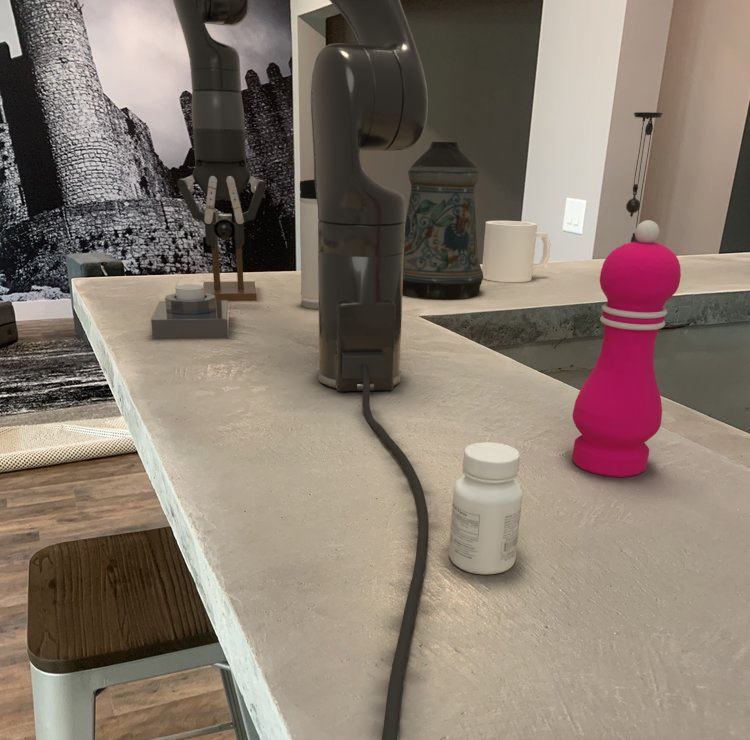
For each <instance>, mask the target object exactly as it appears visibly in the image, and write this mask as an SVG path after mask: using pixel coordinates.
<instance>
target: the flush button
mask: <svg viewBox="0 0 750 740" xmlns="http://www.w3.org/2000/svg"><path fill="white" fill-rule="evenodd" d="M174 289H175V293H176V299H182V300H196V299H203V298H205V287H204V286H203V284H194V283H193V284H191V283H190V284H189V283H188V284H180V285H176V286H175V287H174Z"/></svg>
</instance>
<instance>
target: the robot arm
mask: <svg viewBox="0 0 750 740" xmlns="http://www.w3.org/2000/svg"><path fill="white" fill-rule="evenodd" d="M172 2H173V5H174V9H175V12H176V16H177V19H178V22H179V24H180V27H181V32H182V34H183V39H184V41H185V45H186V50H187V55H188V58H189V59H188V60H189V67H190V80H191V91H192V92H191V124H192V136H193V149H194V150H193V151H194V159H195V160H194V162H195V163H194V164H195V166H194V169H193V171H192V174H191V175H189V176H187V177H184V178H179V179H178V180H177V182H176V186H177V188H178V190H179V192H180V194H181V197H183V200H184V202H185V205H186V206H187V208H188V211H189V213H190V215H191V217H192V218H193V219H194V220H198V221H200V222H202V223H203V224H204V232H205V233H204V234H205V243H206V245H207V246H210V250H212V249H216V244H215V231H214V223H213V213H214V210H215V204H216V201H217V202H218V201H221V200H225V201H230V202H231V205H232V210H233V215H234V214H235V219H236V223H235V225H234V226H235V234H234V240H235V241H236V243H235V250H236V249H240V246H243V247H244V245H245V242H246V241H245V224H246V223H247V222H249V221H253V220H255V218H256V216H257V213H258V211H259V207H260V205H261V202H262V199H263V196H264V194H265V190H266V188H267V183H266V181H265V180H263V179H259V178H256V177H255V176H252V175H251V174H250V171H249V169H248V166H247V153H246V129H245V125H246V121H245V110H244V102H243V98H242V97H243V96H242V82H241V81H242V80H241V78H242V77H241V62H240V60H241V59H240V55H239V52H238V50H237V49H236V48H235V47H233V46H231V45H229V44H225V43H223V42H220V41H217V40H216V39H214V37H212V36H211V34H210V32H209V30H208V29H207V24H208V25H218V26H226V27H227V26H228V27H234V26H238V25H239V24H241V23H242V22H243V21H244V20H245V18H246V17H247V15H248V13H249V11H250V6H251V5H250V4H251V0H172ZM329 2H330V3H331V4H332V5H333V7H335V8H336V10H337V11H338V12H339V13H340V15H341V16H342V17H343V18H344V19H345V20H346V22H347V24H348V25H349V26H350V28H351V30H352V32H353V33H354V36H355V37H356V40H357V42H358V44H354V43H353V44H352V43H330V44H327V45H325V46H324V47H323V48H322V49H320V50H319V52H318V54H317V56H316V57H315V61H314V64H313V67H312V72H311V78H310V79H311V80H310V97H309V98H310V118H311V119H310V120H311V134H312V147H313V148H312V150H313V151H312V153H313V175H314V176H313V177H314V178H313V180H315V190H316V197H317V204H318V285H319V309H318V372H317V374H318V377H317V378H318V381H319V382H320V383H321V384H323V385H324V386H327V387H330V388H334V389H335V390H336V391H337V392H362V400H361V401H362V411H363V416H364V418H365V420H366V422H367V423H368V426H370V427H371V428H372V429H373V430H374V431H375V432H376V433H377V434H378V436H379V437H380V439H381V440H382V441H383V442H384V444H385V445H386V446H387V448H388V449H389V450H390V451H391V452H392V453H393V454H394V456H395V457H396V458H397V460H398V462H399V463H400V464H401V466H402V468H403V469H404V472H405V473H406V475H407V477H408V479H409V482H410V484H411V486H412V490H413V494H414V498H415V504H416V509H417V520H418V527H417V539H416V540H417V541H416V542H417V543H416V544H417V545H416V550H415V551H416V553H415V559H414V566H413V571H412V576H411V580H410V585H409V588H408V593H407V597H406V601H405V605H404V610H403V614H402V619H401V625H400V630H399V634H398V638H397V642H396V647H395V650H394V651H395V652H394V655H393V656H394V657H393V660H392V666H391V670H390V675H389V682H388V687H387V696H386V701H385V702H386V703H385V713H384V720H383V726H382V727H383V728H382V734H381V735H382V736H381V740H398V737H399V729H400V727H399V726H400V718H401V708H402V707H401V706H402V696H403V695H402V694H403V685H404V679H405V673H406V667H407V662H408V657H409V651H410V647H411V643H412V636H413V631H414V627H415V626H414V625H415V620H416V614H417V610H418V609H417V608H418V604H419V599H420V594H421V590H422V586H423V581H424V577H425V576H424V575H425V572H426V571H425V570H426V565H427V556H428V544H429V543H428V541H429V513H428V506H427V501H426V497H425V493H424V489H423V487H422V484H421V480H420V479H419V477H418V475H417V473H416V470H415V469H414V467H413V465H412V463H411V462H410V460H409V458H408V457H407V455H406V454H405V452H403V451H404V450H402V449H401V448H400V447H399V445H398V444H397V443H396V442H395V441H394V440H393V439H392V437H391V436H390V435H389V434H388V432H387V431H386V430H385V429H384V427H383V426H382V425H381V424H380V423H379V422H378V421H377V420H376V419H375V418H374V417H373V415H372V410H371V406H370V405H371V404H370V397H371V396H370V395H371V391H372V392H373V391H393V390H394V386H396V385H398V384H400V382H401V376H402V375H401V351H402V348H401V347H402V345H401V344H402V322H403V320H402V319H403V316H402V315H403V296H404V295H403V268H404V245H405V223H406V217H407V203H406V197H405V196H404V195H403V193H402V192H400V191H399V190H396V189H394V188H392V187H389V186H386V185H384V184H382V183H380V182H379V181H377V180H376V179H375V178H373V177H371V176H370V174H369V173H367V171H366V170H365V169H364V167H363V164H362V160H361V159H362V158H361V153H360V152H361V151H370V152H371V151H375V152H376V151H380V152H381V151H383V152H388V151H389V152H390V151H391V152H392V151H402V150H407V149H410V148H412V147H414V146H415V145H416V144H418V142H419V141H420V140H421V138H422V136H423V134H424V131H425V128H426V125H427V121H428V120H427V119H428V113H429V112H428V111H429V108H428V107H429V96H428V88H427V87H428V86H427V81H426V76H425V71H424V67H423V63H422V61H421V57H420V53H419V51H418V47H417V45H416V42H415V39H414V36H413V33H412V31H411V28H410V25H409V22H408V19H407V16H406V14H405V11H404V8H403V6H402V3H401V0H329ZM194 183H196V184H197V185H198V187H199V188H200V189H201V191H202V192H203V194H204V195H205V196H206V201H205V210H204V212H203V211H201V210H200V209H199V206H198V204H197V202H196V200H195V198H194V196H193V194H192V193H193V191H194V189H195V188H194V187H195V186H194ZM248 183H249V184H250V191H251V192H252V193H253V196H252V198H251V201H250V204H249V207H248V210H247V211H245V212H243V209H242V205H241V200H240V195H241V194H242V192H243V191H244V189H245V188H246V186H247V185H248ZM235 241H234V242H235Z"/></svg>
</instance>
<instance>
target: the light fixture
mask: <svg viewBox="0 0 750 740" xmlns="http://www.w3.org/2000/svg"><path fill="white" fill-rule="evenodd" d="M663 114H664V113H663V112H655V111H654V112H651V111H650V112H649V111H648V112H645V111H642V112H641V111H638V112H633V115H634V118H638V119H639V118H640V119H642V127H641V132H640V133H641V134H640V142H639V149H638V154H637V161H636V167H635V170H634V171H635V173H634V177H633V186H632V195H633V197H632V198H630V199H629V200H628V201H627V203H626V205H625V209H626V211H627V212H628V213H629V216H630V218H632V217H633V216H634V214H635V213H637V217H636V224H635V229H636V228H637V226H638V223H639V214H640V208H641V202H642V195H643V190H644V189H643V188H644V182H645V176H646V172H647V171H646V170H647V165H648V164H647V163H648V158H649V153H650V148H651V147H650V146H651V139H652V134H653V130H654V125H653V119H661V117H662V116H663ZM646 120H648V121H647V124H646V126H645V129H644V125H645V122H646ZM643 131H644V139H643ZM646 136H649V142H648V148H647V154H646V158H645V159H646V160H645V166H644V171H643V178H642V183H641V189H640V190H641V191H640V196H639V199H637V198H636V196H637V194H638V190H639V182H640V178H641V177H640V176H641V169H642V163H643V155H644V149H645V142H646ZM642 139H643V144H642ZM641 147H642V149H641ZM641 150H642V151H641ZM640 152H641V157H640ZM639 158H640V163H639ZM638 164H640V165H638ZM638 166H639V170H638ZM637 170H638V179H637V183H636V176H637ZM630 242H637V240H636V237H635V232H633V233H632V235H631V238H630Z"/></svg>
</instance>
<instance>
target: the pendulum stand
mask: <svg viewBox="0 0 750 740" xmlns="http://www.w3.org/2000/svg"><path fill="white" fill-rule="evenodd" d="M233 219H234V220H233V224H234V226H235V223H236V219H235V214H234V213H233ZM217 221H218V219H217V209H214V213H213V223H214V226H215V223H216V222H217ZM234 242H235V244H236V241H234ZM215 244H216V249H211V261H212V276H213V277H212V278H213V281H203V284H202V286H204V287H205V293H210V294H213V295H216V301H225V300H228V302H257V300H258V299H257V297H258V295H257V287H256V282H255V280H254V281H253V280H251V281H249V280H248V281H244V265H243V264H244V263H243V247H242V246H240V249H236V248H235V259H236V261H235V262H236V277H237V278H236V280H235V281H234V280H233V281H230V280H229V281H221V267H220V253H219V252H220V251H219V238H218V237H217V235H216V234H215Z"/></svg>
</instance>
